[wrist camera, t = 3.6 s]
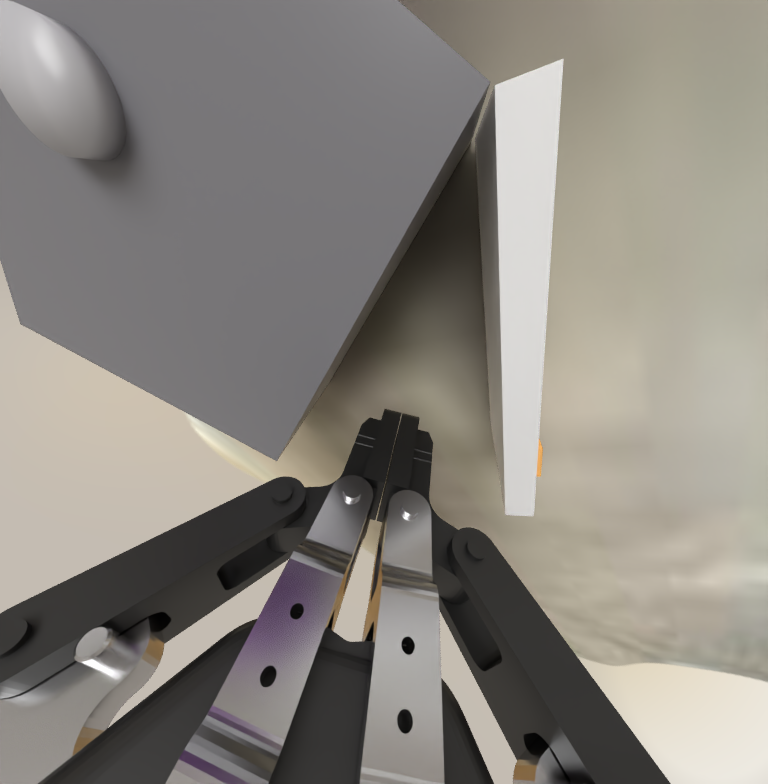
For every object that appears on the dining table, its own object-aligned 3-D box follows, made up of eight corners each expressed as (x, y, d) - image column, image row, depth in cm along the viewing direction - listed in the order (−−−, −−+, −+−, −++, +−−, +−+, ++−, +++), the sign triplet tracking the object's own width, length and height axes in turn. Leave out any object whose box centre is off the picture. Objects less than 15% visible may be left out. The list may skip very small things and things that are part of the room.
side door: (530, 119, 8) (609, 40, 4) (522, 422, 15) (551, 516, 10) (474, 138, 9) (494, 84, 5) (490, 424, 15) (505, 515, 11)
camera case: (471, 141, 9) (495, 67, 4) (321, 395, 17) (261, 486, 12) (183, -97, 8) (-411, -743, 2) (162, 300, 15) (7, 356, 10)
